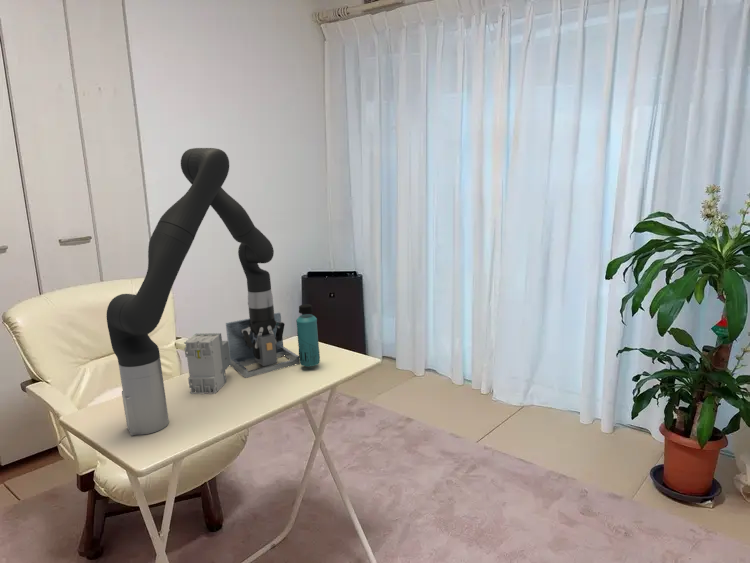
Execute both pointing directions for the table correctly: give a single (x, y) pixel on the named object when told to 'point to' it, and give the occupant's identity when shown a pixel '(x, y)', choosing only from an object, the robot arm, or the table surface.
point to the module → (267, 350)
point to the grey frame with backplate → (244, 354)
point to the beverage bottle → (307, 337)
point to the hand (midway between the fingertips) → (265, 356)
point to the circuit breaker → (207, 362)
